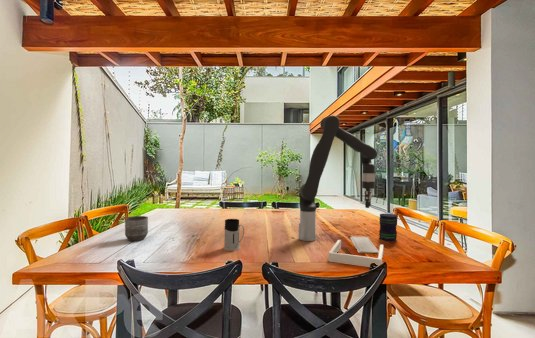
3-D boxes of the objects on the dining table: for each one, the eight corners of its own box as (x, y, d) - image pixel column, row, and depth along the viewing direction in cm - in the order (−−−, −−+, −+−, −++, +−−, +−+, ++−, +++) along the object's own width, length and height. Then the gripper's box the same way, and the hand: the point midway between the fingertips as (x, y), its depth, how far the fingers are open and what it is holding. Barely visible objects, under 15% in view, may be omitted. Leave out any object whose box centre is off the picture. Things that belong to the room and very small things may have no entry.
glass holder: (233, 245, 163) (233, 217, 163) (250, 250, 153) (250, 221, 153) (220, 248, 157) (220, 220, 157) (236, 254, 147) (237, 224, 146)
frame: (328, 261, 138) (328, 252, 138) (338, 247, 161) (338, 239, 161) (381, 268, 129) (381, 259, 129) (383, 252, 152) (383, 244, 152)
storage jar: (393, 237, 183) (394, 213, 182) (399, 242, 173) (399, 216, 172) (377, 237, 184) (377, 213, 183) (381, 241, 174) (382, 216, 173)
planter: (120, 241, 168) (120, 218, 168) (136, 236, 180) (136, 215, 179) (136, 243, 164) (136, 220, 164) (152, 238, 175) (152, 216, 175)
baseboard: (355, 253, 151) (379, 255, 150) (355, 248, 151) (379, 249, 150) (347, 238, 182) (367, 239, 180) (347, 233, 182) (367, 234, 180)
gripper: (363, 179, 190) (363, 205, 190) (360, 181, 177) (360, 208, 177) (375, 180, 187) (375, 205, 187) (373, 181, 174) (373, 209, 174)
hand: (368, 206), depth 182 cm, fingers open, 8 cm apart
